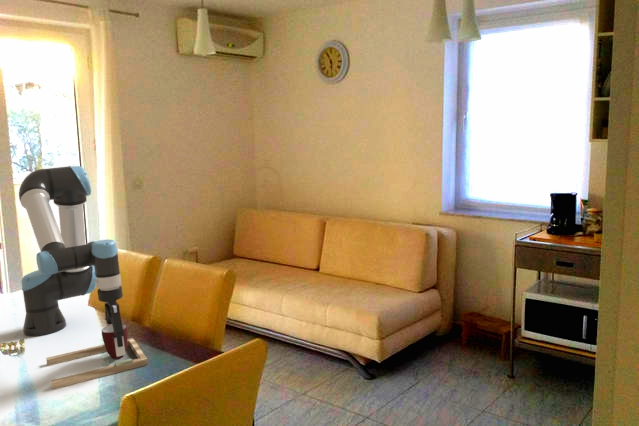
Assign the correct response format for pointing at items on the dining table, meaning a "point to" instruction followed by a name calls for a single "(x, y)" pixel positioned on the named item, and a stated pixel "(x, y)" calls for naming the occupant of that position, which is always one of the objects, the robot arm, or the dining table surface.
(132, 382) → the dining table surface
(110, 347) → the mug
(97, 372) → the track
